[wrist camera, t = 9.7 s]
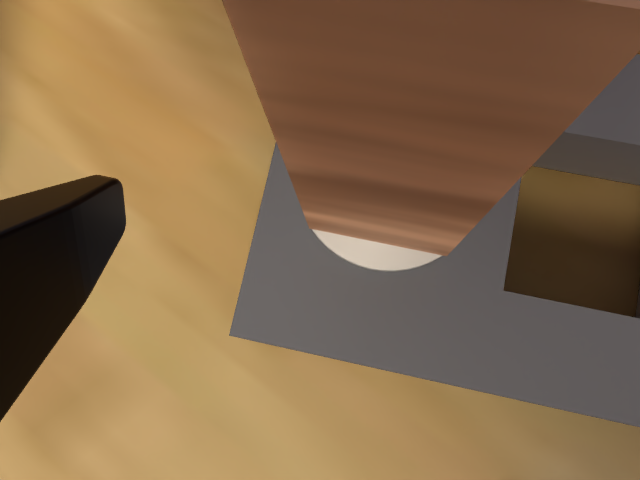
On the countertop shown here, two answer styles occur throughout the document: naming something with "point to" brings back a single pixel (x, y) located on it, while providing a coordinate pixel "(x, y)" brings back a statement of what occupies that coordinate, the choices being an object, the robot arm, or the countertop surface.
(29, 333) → the robot arm
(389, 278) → the holder block
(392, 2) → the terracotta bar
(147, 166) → the countertop surface
